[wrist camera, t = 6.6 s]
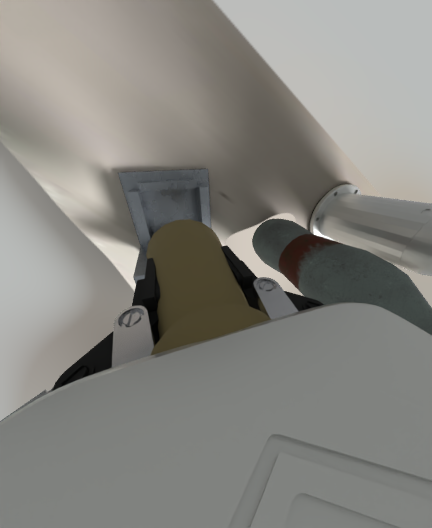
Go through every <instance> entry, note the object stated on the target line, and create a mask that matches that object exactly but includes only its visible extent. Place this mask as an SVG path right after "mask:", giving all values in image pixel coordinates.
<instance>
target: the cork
mask: <svg viewBox="0 0 432 528" xmlns="http://www.w3.org/2000/svg"><path fill="white" fill-rule="evenodd" d="M221 247H222V245H221V243H220V241H219V239H218V237H217V235H216V234H215V233H214V231H213V230H212V229H211V228H209V227H208V226H206V225H205V224H203V223H202V222H198V221H194V220H191V219H186V220H175V221H173V222H170V223H168V224H165V225H163V226H162V227H161V228H160V229H159V230H157V231H156V232H155V233H154V235H153V236H152V238H151V240H150V241H149V243H148V248H147V254H146V256H147V259H148V258H153V260H154V263H155V266H156V277H157V280H158V283H159V287H160V299H159V301H158V304H157V306H158V307H157V314H158V332H159V338H160V340H159V341H158V343H157V344H156V345H155V347H154V348H153V350H152V352H151V355H154V354H158V353H161V352H164V351H167V350H171V349H174V348H177V347H181V346H184V345H188V344H192V343H196V342H200V341H204V340H208V339H212V338H216V337H219V336H222V335H226V334H229V333H232V332H235V331H238V330H241V329H245V328H247V327H249V326H252V325H254V324H257V323H261V322H264V321H268V320H271V318H269V317H268V316H267V315H266V314H264V313H263V312H262V311H259V310H257V309H254V308H252V307H249V305H248V302H247V300H246V298H245V296H244V294H243V291H242V289H241V287H240V285H239V284H238V282H237V280H236V278H235V276H234V274H233V272H232V270H231V268H230V266H229V265H228V262H227V260H226V258H225V255H224V253H223V251H222V249H221ZM151 355H150V356H151Z"/></svg>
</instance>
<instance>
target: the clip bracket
mask: <svg viewBox="0 0 432 528" xmlns="http://www.w3.org/2000/svg"><path fill="white" fill-rule="evenodd" d="M118 174H119V178H120V181H121V184H122V187H123V190H124V194H125V197H126V200H127V203H128V207H129V210H130V213H131V216H132V219H133V223H134V226H135V229H136V232H137V236H138V239H139V242H140V245H141V247H140V252H139V256H138V260H137V264H136V268H135V272H134V280H135V283H137V280H140V279H145V272H146V265H147V256H146V254H147V248H148V243H149V241H150V240H151V238H152V236H153V235H154V233H155V232H156V231H157V230H159V229H160V228H161V227H162V226H163V225H165V224H168V223H170V222H173V221H175V220H186V219H191V220H194V221H198V222H202V223H203V224H205V225H206V226H208V227H209V228H211V217H210V198H209V178H208V169H194V170H170V171H146V172H122V173H118Z"/></svg>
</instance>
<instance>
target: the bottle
mask: <svg viewBox="0 0 432 528" xmlns="http://www.w3.org/2000/svg"><path fill="white" fill-rule="evenodd" d="M252 242H253V247H254V250H255V252H256V254H257V255H258V256H259V257H260V259H261V260H262V261H263V262H264V263H266V264H267V265H269V266H270V267H272V268H273V269H275V270H277V271H278V272H280V273H282V274H283V275H284V276H285V277H286V278H287V279H288V280H289V281H290V282H291V283H292V284H293V285H294V286H295V287H296V288H297V289H298V290H299V291H300V292H301V293H302V294H303V295H304V296H305V297H308V298H312V299H315V300H318V301H320V302H321V303H323V304H324V305H327V304H333V303H344V302H354V303H366V304H371V305H376V306H379V307H382V308H384V309H386V310H388V311H390V312H392V313H394V314H396V315H398V316H399V317H401V318H403V319H405V320H407V321H408V322H410V323H412V324H413V325H415V326H417V327H418V328H420V329H422V330H423V331H425V332H427V333H428V334H430V335H432V308H431V306H430V305H429V304H428V302H427V301H426V300H425V298H424V297H423V295H422V294H421V293H420V291H419V290H418V288H417V287H416V286H415V284H414V283H413V282H412V280H411V279H410V277H409V276H408V275H407V274H405V273H404V272H402V271H401V270H400V269H398V268H397V267H396V266H394V265H393V264H391V263H389V262H388V261H386V260H384V259H382V258H380V257H378V256H376V255H374V254H372V253H370V252H368V251H367V250H363V249H360V248H356V247H352V246H349V245H345V244H342V243H339V242H336V241H333V240H330V239H327V238H324V237H320V236H317V235H314V234H313V233H311V232H310V231H308V230H307V229H305V228H303V227H302V226H300V225H298V224H296V223H295V222H293V221H289V220H284V219H270V220H267V221H265V222H264V223H262V224H261V225H260V226H259V227H258V228H257V230H256V231H255V233H254V236H253V239H252Z"/></svg>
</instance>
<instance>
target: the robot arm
mask: <svg viewBox="0 0 432 528" xmlns="http://www.w3.org/2000/svg"><path fill="white" fill-rule="evenodd" d="M310 232H311V233H313V234H314V235H317V236H320V237H324V238H327V239H330V240H335V241H338V242H340V243H343V244H345V245H349V246H352V247H356V248H360V249H363V250H367V251H368V252H370V253H372V254H374V255H376V256H378V257H380V258H382V259H384V260H386V261H388V262H389V263H392V264H394V265H397V266H399V267H402V268H404V269H407V270H409V271H412V272H415V273H418V274H422V275H428V276H432V204H430V203H421V202H414V201H406V200H398V199H391V198H383V197H375V196H367V195H361V192H360V190H359V188H358V187H356V186H354V185H349V184H344V185H340V186H337V187H335V188H333V189H332V190H331V191H329V192H328V193H327V194H326V195H325V196H324V197H323V198H322V199H321V200H320V202H319V203H318V205H317V206H316V208H315V210H314V212H313V214H312V217H311V221H310ZM221 249H222V251H223V253H224V255H225V258H226V260H227V262H228V265H229V266H230V268H231V270H232V272H233V274H234V276H235V278H236V280H237V282H238V284H239V285H240V287H241V289H242V291H243V294H244V296H245V298H246V300H247V302H248V305H249V307H252V308H254V309H257V310H259V311H262V312H263V313H264V314H266V315H267V316H268V317H269V318H271V320H268V321H264V322H261V323H257V324H254V325H252V326H249V327H247V328H245V329H241V330H238V331H235V332H232V333H229V334H226V335H222V336H219V337H216V338H212V339H208V340H204V341H200V342H196V343H192V344H188V345H184V346H181V347H177V348H174V349H171V350H167V351H164V352H161V353H158V354H154V355H151V352H152V350H153V348H154V347H155V345H156V344H157V343H158V341H159V340H160V338H159V332H158V314H157V307H158V306H157V304H158V301H159V299H160V287H159V283H158V280H157V277H156V266H155V263H154V260H153V258H148V259H147V265H146V272H145V279H140V280H137V283H136V288H135V293H134V298H133V303H132V307H129V308H127V309H125V310H123V311H122V312H121V313H120V314H118V316H117V317H116V318H115V321H114V331H113V332H112V333H111V334H109V335H108V336H107V337H106V338H104V340H102V341H101V342H100V343H98V344H97V345H96V346H95V347H94V348H92V349H91V350H90V351H89V352H88V353H87V354H85V355H84V356H83V357H82V358H80V359H79V360H78V361H77V362H76V363H75V364H73V365H72V366H71V367H70V368H68V369H67V370H66V371H65V372H64V373H63V374H62V375H61V376H60V378H59V379H58V380H57V382H56V383H55V385H54V387H53V389H51V390H50V391H47V390H44V391H43V392H42V393H40V394H39V395H37V396H36V397H34V398H33V399H31V400H30V401H29V402H27V403H26V404H24V405H23V406H21V407H20V408H18V409H17V410H16V411H14V412H13V413H11V414H10V415H8V416H7V417H6V418H4V419H3V420H1V421H0V528H432V335H430V334H428V333H427V332H425V331H423V330H422V329H420V328H418V327H417V326H415V325H413V324H412V323H410V322H408V321H407V320H405V319H403V318H401V317H399V316H398V315H396V314H394V313H392V312H390V311H388V310H386V309H384V308H382V307H379V306H376V305H371V304H366V303H354V302H344V303H333V304H327V305H324V304H323V303H321V302H320V301H318V300H315V299H312V298H308V297H304V296H301V295H297V294H293V293H290V292H286V291H283V289H282V288H281V287H280V285H279V284H278V283H277V282H276V281H275V280H273V279H271V278H266V277H262V278H257V277H256V276H255V275H254V274H253V273H252V271H251V270H250V269H249V268H248V267H247V266H246V265H245V263H244V262H243V261H241V260H239V258H238V257H237V256H236V255H235V254H234V253H233V252H232V251H231V249H230V248H229V247H228V246H222V247H221ZM150 355H151V356H150Z"/></svg>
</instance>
